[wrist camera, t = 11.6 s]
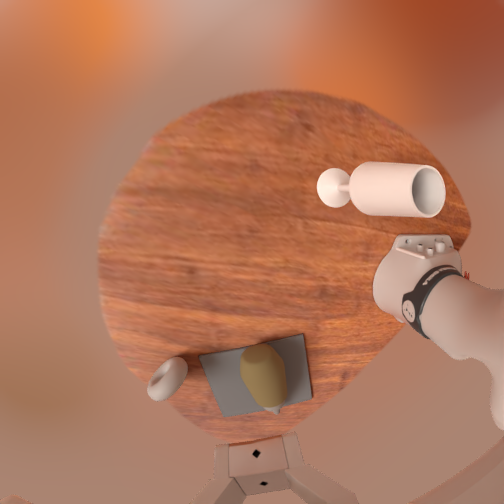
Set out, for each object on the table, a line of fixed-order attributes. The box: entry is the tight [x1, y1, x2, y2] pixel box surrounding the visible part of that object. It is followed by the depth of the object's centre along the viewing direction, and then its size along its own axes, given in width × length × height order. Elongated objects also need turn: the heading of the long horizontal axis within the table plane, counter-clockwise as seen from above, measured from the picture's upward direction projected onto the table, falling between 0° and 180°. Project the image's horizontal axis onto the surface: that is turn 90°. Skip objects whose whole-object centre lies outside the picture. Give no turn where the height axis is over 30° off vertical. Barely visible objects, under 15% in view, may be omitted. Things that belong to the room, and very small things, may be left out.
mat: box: [199, 333, 312, 417], centre depth 50 cm, size 20×18×1 cm
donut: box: [147, 357, 188, 401], centre depth 44 cm, size 10×4×10 cm, turn 133°
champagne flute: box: [317, 162, 445, 218], centre depth 32 cm, size 7×7×24 cm
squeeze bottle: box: [240, 344, 288, 414], centre depth 47 cm, size 8×8×18 cm
